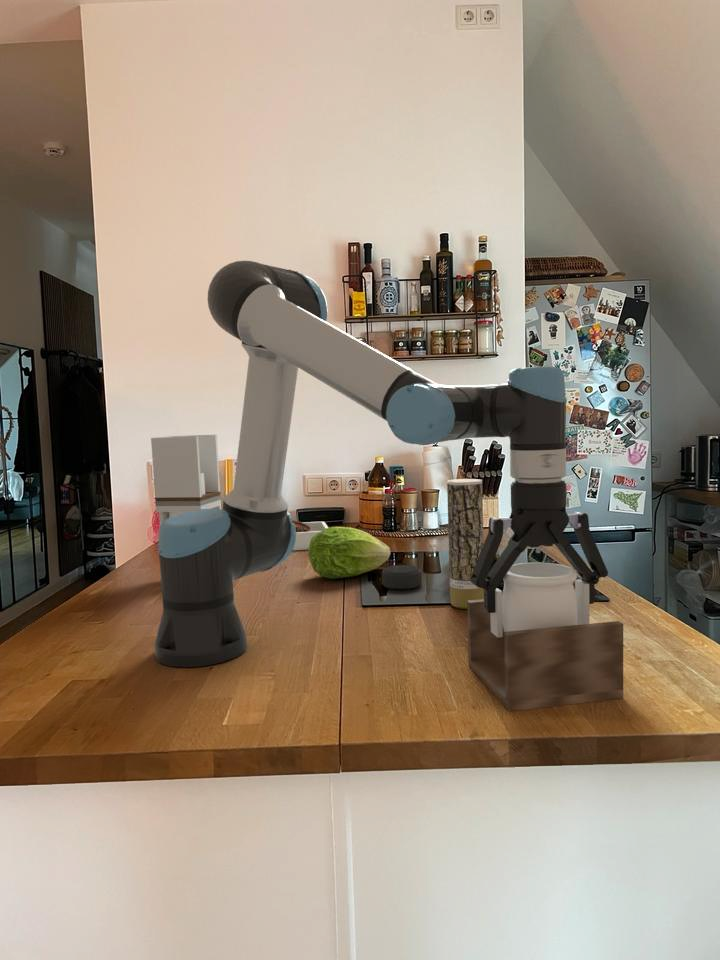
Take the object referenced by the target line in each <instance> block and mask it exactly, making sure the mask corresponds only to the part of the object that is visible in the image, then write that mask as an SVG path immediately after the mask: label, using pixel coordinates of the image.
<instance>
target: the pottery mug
mask: <svg viewBox="0 0 720 960" xmlns="http://www.w3.org/2000/svg"><path fill="white" fill-rule="evenodd" d="M291 521H292V523H294V524H295V528H296V533H297V532H309V530H310V527H309V526H308V525H306V524H304V523H305V522H301V521H297V520H294V519H292V520H291Z"/></svg>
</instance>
